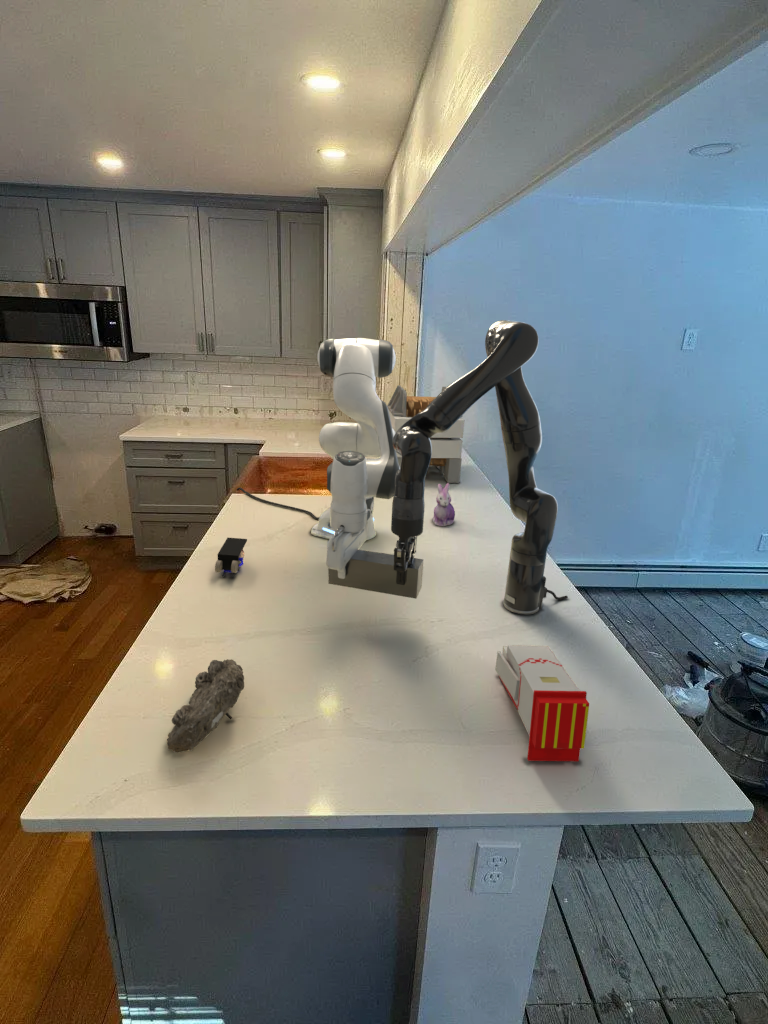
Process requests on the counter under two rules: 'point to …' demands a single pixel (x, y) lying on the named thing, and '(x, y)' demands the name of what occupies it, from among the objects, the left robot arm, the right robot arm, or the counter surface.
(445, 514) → the figurine
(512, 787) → the counter surface
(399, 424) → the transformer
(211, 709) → the fossil
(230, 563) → the figurine character
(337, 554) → the left robot arm
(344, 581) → the bar
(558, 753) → the toy
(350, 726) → the counter surface
